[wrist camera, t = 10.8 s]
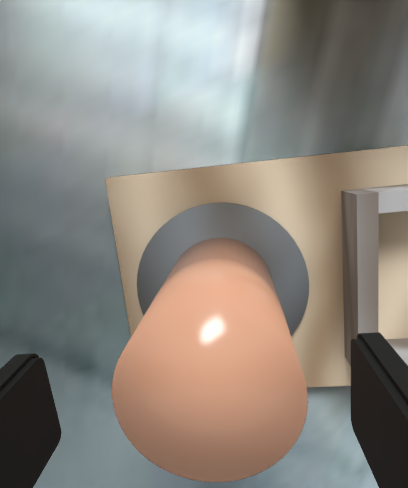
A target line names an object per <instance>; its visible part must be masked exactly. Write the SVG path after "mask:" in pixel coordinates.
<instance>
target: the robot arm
mask: <svg viewBox="0 0 408 488" xmlns="http://www.w3.org/2000/svg"><path fill="white" fill-rule="evenodd" d="M351 421H352V426H353V430H354V433H355V435H356V437H357V439H358V441H359V444H360V446H361V448H362V450H363V453H364V455H365V457H366V459H367V462H368V464H369V466H370V468H371V470H372V473H373V475H374V477H375V479H376V482H377V484H378V486H379V488H408V365H407V364H406V363H405V362H404V361H403V359H402V358H401V357H400V356H399V355H398V353H397V352H396V351H395V350H394V349H393V347H392V346H391V345H390V344H389V343H388V341H387V340H386V339H385V338H384V337H383V335H382V334H381V333H379V332H374V333H359V334H358V335H357V339H352V340H351ZM60 438H61V428H60V424H59V420H58V415H57V411H56V407H55V403H54V399H53V395H52V391H51V387H50V383H49V379H48V375H47V371H46V367H45V363H44V360H43V359H42V358H39V356H38V355H37V354H19V355H15V356H14V357H13V358H12V359H11V360H10V361H9V362H8V363H6V364H5V365H4V366H3V367H2V368H1V369H0V488H33V486H34V485H35V483H36V481H37V480H38V478H39V476H40V474H41V473H42V471H43V469H44V467H45V466H46V464H47V462H48V461H49V459H50V457H51V455H52V454H53V452H54V450H55V449H56V447H57V445H58V443H59V441H60Z"/></svg>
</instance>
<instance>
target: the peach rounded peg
mask: <svg viewBox="0 0 408 488" xmlns="http://www.w3.org/2000/svg"><path fill="white" fill-rule="evenodd" d="M112 399H113V406H114V410H115V414H116V417H117V419H118V422H119V424H120V426H121V428H122V430H123V432H124V433H125V435H126V437H127V438H128V439H129V441H130V442H131V443H132V445H133V446H134V447H135V448H136V449H137V450H138V451H139V452H140V453H141V454H142V455H143V456H145V457H146V458H147V459H148V460H149V461H151V462H152V463H154V464H155V465H157V466H159V467H160V468H162V469H164V470H166V471H168V472H170V473H173V474H175V475H178V476H181V477H184V478H188V479H192V480H197V481H204V482H228V481H234V480H240V479H244V478H247V477H250V476H253V475H255V474H258V473H260V472H262V471H264V470H266V469H267V468H269V467H271V466H273V465H274V464H275V463H276V462H278V461H279V460H280V459H282V458H283V457H284V456H285V455H286V454H287V452H288V451H289V450H290V449H291V448H292V446H293V445H294V444H295V442H296V441H297V439H298V437H299V435H300V433H301V432H302V429H303V426H304V423H305V420H306V415H307V410H308V393H307V385H306V382H305V378H304V375H303V371H302V368H301V365H300V362H299V359H298V356H297V353H296V350H295V347H294V344H293V341H292V338H291V334H290V331H289V328H288V325H287V322H286V319H285V316H284V313H283V310H282V307H281V304H280V301H279V297H278V294H277V291H276V288H275V285H274V282H273V279H272V276H271V273H270V270H269V268H268V266H267V264H266V262H265V261H264V259H263V258H262V257H261V256H260V254H258V253H257V252H256V251H255V250H254V249H253V248H251V247H250V246H248V245H246V244H245V243H243V242H240V241H237V240H234V239H229V238H212V239H207V240H203V241H201V242H198V243H196V244H194V245H193V246H191V247H189V248H188V249H187V250H186V251H185V252H184V253H183V254H182V255H181V256H180V257H179V258H178V260H177V261H176V263H175V265H174V266H173V268H172V270H171V271H170V273H169V275H168V276H167V278H166V280H165V281H164V283H163V285H162V286H161V288H160V290H159V291H158V293H157V295H156V296H155V298H154V300H153V302H152V303H151V305H150V307H149V308H148V310H147V312H146V313H145V315H144V317H143V318H142V320H141V322H140V323H139V325H138V327H137V328H136V330H135V332H134V333H133V335H132V337H131V338H130V340H129V342H128V344H127V345H126V347H125V349H124V350H123V352H122V354H121V356H120V358H119V360H118V362H117V365H116V368H115V371H114V376H113V381H112Z"/></svg>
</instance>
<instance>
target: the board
mask: <svg viewBox="0 0 408 488" xmlns="http://www.w3.org/2000/svg"><path fill="white" fill-rule="evenodd" d="M105 181H106V187H107V193H108V199H109V205H110V211H111V217H112V224H113V230H114V236H115V242H116V248H117V254H118V260H119V266H120V273H121V279H122V285H123V291H124V297H125V303H126V309H127V316H128V322H129V328H130V334H131V337H132V335H133V333H134V332H135V330H136V328H137V327H138V325H139V323H140V322H141V320H142V318H143V317H144V315H145V313H146V312H147V310H148V308H149V307H150V305H151V303H152V302H153V300H154V298H155V296H156V295H157V293H158V291H159V290H160V288H161V286H162V285H163V283H164V281H165V280H166V278H167V276H168V275H169V273H170V271H171V270H172V268H173V266H174V265H175V263H176V261H177V260H178V258H179V257H180V256H181V255H182V254H183V253H184V252H185V251H186V250H187V249H188V248H189V247H191V246H193V245H194V244H196V243H198V242H201V241H203V240H207V239H212V238H229V239H234V240H237V241H240V242H243V243H245V244H246V245H248V246H250V247H251V248H253V249H254V250H255V251H256V252H257V253H258V254H260V256H261V257H262V258H263V259H264V261H265V262H266V264H267V266H268V268H269V270H270V273H271V276H272V279H273V282H274V285H275V288H276V291H277V294H278V297H279V301H280V304H281V307H282V310H283V313H284V316H285V319H286V322H287V325H288V328H289V331H290V334H291V338H292V341H293V344H294V347H295V350H296V353H297V356H298V359H299V362H300V365H301V368H302V371H303V375H304V378H305V382H306V385H307V387H328V386H351V340H352V339H357V335H358V334H359V333H374V332H379V333H381V334H382V335H383V337H384V338H385V339H386V340H387V341H388V343H389V344H390V345H391V346H392V347H393V349H394V350H395V351H396V352H397V353H398V355H399V356H400V357H401V358H402V359H403V361H404V362H405V363H406V364H407V365H408V145H406V146H397V147H388V148H378V149H369V150H360V151H350V152H341V153H332V154H322V155H313V156H304V157H294V158H285V159H276V160H266V161H257V162H248V163H239V164H229V165H220V166H211V167H201V168H192V169H183V170H173V171H164V172H155V173H145V174H136V175H127V176H117V177H109V178H105Z"/></svg>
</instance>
